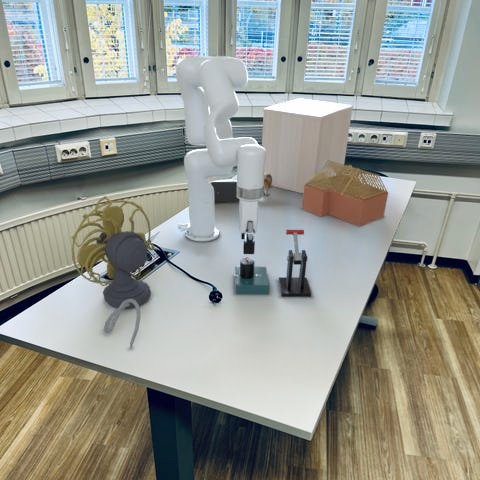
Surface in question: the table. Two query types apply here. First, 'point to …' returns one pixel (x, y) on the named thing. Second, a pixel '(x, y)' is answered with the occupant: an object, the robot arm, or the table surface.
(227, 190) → the leaning round-cornered charcoal block
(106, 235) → the electric fan
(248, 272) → the knob
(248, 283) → the dial panel
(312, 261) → the table surface
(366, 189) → the house
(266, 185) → the lion figurine
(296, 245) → the toaster lever
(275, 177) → the cabinet
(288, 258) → the black upright frame
